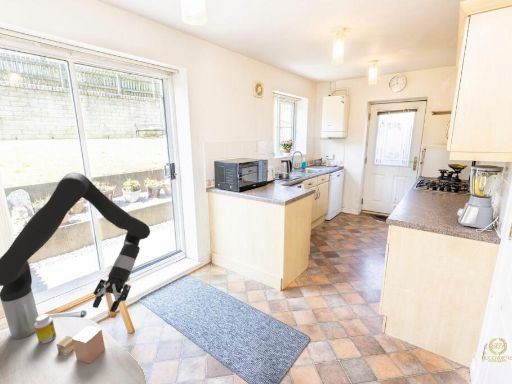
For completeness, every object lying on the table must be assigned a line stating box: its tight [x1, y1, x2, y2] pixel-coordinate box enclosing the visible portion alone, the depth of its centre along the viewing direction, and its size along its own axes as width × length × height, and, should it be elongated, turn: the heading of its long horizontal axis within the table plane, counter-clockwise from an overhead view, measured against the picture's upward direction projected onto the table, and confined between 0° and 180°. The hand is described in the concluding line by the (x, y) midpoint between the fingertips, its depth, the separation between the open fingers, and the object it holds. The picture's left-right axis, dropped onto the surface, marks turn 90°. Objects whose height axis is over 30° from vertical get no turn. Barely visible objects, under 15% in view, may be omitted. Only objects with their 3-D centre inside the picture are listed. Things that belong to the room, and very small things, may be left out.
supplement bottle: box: [34, 313, 57, 344], centre depth 101 cm, size 6×6×10 cm
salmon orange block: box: [72, 325, 106, 364], centre depth 93 cm, size 6×6×9 cm
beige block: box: [56, 335, 74, 355], centre depth 96 cm, size 4×4×4 cm
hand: (103, 309), depth 99 cm, fingers open, 8 cm apart
